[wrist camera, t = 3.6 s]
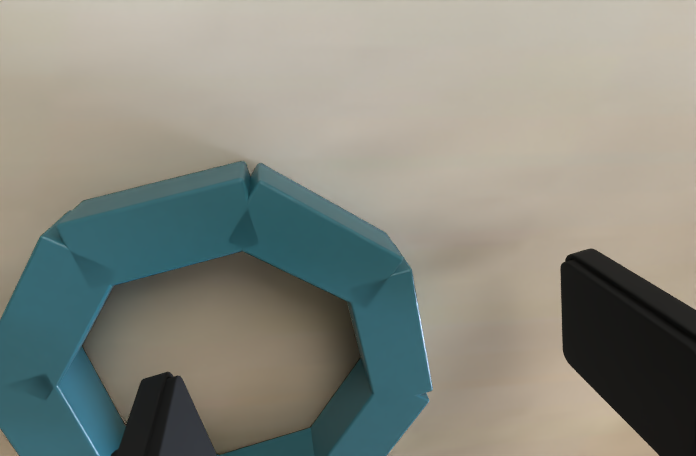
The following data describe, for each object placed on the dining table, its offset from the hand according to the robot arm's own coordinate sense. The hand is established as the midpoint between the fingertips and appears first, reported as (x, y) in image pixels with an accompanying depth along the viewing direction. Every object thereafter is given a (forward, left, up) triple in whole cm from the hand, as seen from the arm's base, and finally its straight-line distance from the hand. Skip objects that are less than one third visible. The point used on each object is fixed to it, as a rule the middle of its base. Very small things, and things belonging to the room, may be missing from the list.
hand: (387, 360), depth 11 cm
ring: (+4, 0, -2) cm, 4 cm away
